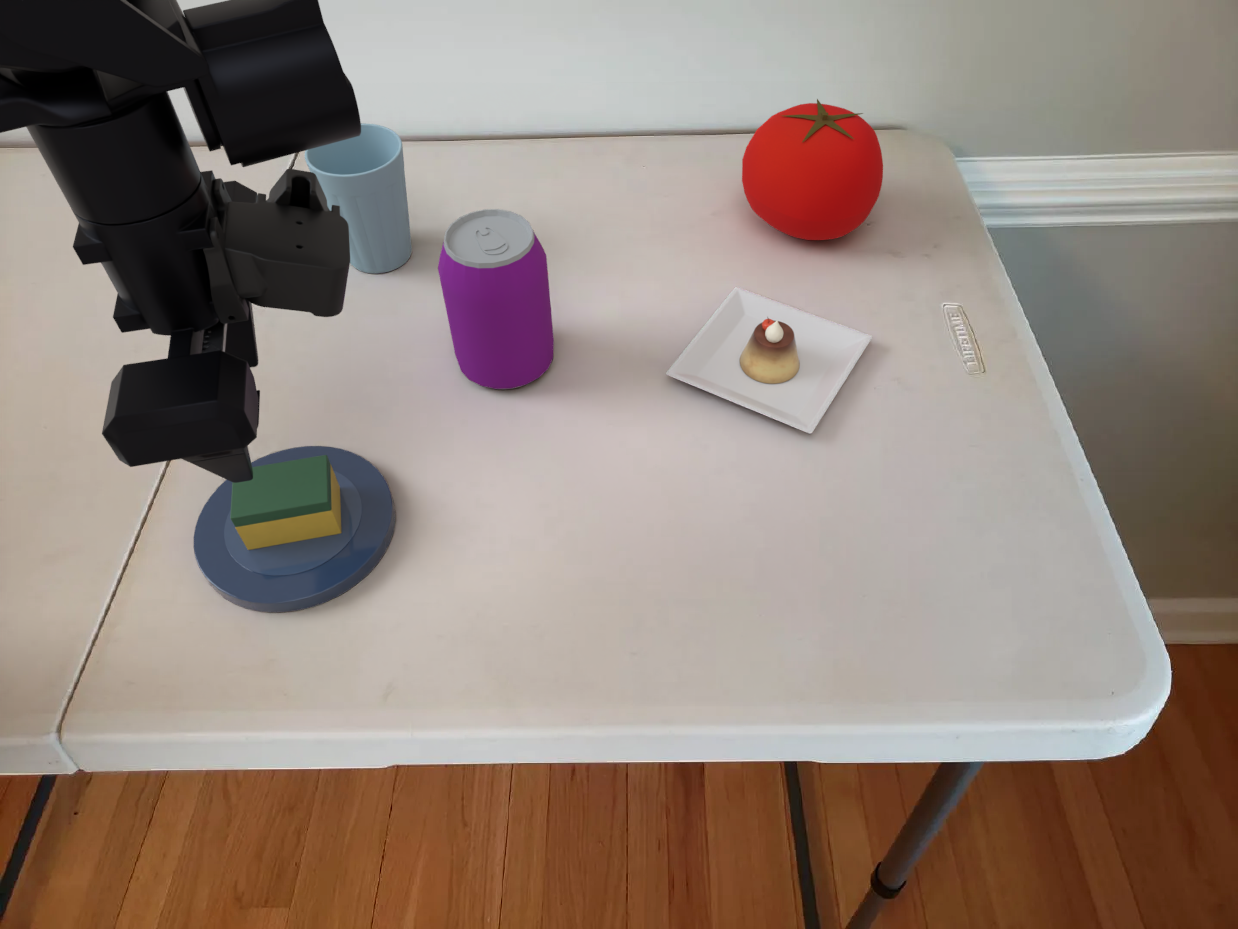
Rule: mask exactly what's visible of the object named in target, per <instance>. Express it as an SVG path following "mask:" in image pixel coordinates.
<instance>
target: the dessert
mask: <svg viewBox="0 0 1238 929" xmlns="http://www.w3.org/2000/svg"><path fill="white" fill-rule="evenodd" d="M872 338H873V335H872V334H868V333H866V332H863V331H861V330H857V329H855V328H852V327H850V326H847V325H844V324H840V323H838V322H836V321H833V320H830V319H827V318H824V317H822V316H819V315H817V314H813V313H811V312H808V311H806V310H803V309H800V308H797V307H795V306H792V305H789V304H786V303H784V302H781V301H779V300H775V299H773V298H770V297H767V296H764V295H762V294H759V293H756V292H753V291H751V290H748V289H745V288H742V287H741V286H735V287H734V288H733V289H732V290H731V291H730V293H729V294H728V295H727V297H726V298H725V299H724V300H723V301H722V303H721V304H720V305H719V306H718V308H717V309H716V310H715V312H713V314H712V315H711V316H710V318H709V319H708V320H707V321H706V323H705V324H704V325H703V326H702V327H701V329H700V330H699V331H698V332H697V333H696V335H695V336H694V337H693V339H692V340H691V341H690V342H689V343H688V345H687V346H686V348H685V349H684V350H683V351H682V352H681V354H679V356H678V357H677V358H676V360H675V361H674V362H673V363H672V365H671V366H670V367H669V368H668V370H667V371H666V372H665V375H667V376H669V377H671V378H674V379H676V380H678V381H681V382H683V383H685V384H688V385H691V386H693V387H695V388H698V389H700V390H702V391H705V392H707V393H710V394H711V395H715V396H717V397H720V398H722V399H724V400H727V401H728V402H731V403H734V404H736V405H738V406H742V407H743V408H745V409H748V410H751V411H753V412H756V413H758V414H760V415H763V416H765V417H768V418H770V419H773V420H776V421H777V422H780V423H783V424H785V425H787V426H789V427H792V428H795V429H797V430H799V431H801V432H804V433H806V434H813V432H814V431H815V429H816V428H817V426H818V424H819V423H820V421H821V420H822V418H823V417H824V415H825V413H826V411H827V410H828V409H829V407H830V405H831V403H832V402H833V400H834V399H835V398H836V396H837V394H838V393H839V391H840V390H841V388H842V386H843V385H844V383H845V382H846V380H847V378H848V377H849V375H850V373H851V372H852V370H853V369H854V367H855V366H856V364H857V362H858V361H859V359H860V358H861V356H862V354H863V353H864V351H865V350H866V348H867V347H868V345H869V343H870V342H871V340H872Z"/></svg>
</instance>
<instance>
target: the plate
mask: <svg viewBox="0 0 1238 929" xmlns="http://www.w3.org/2000/svg"><path fill="white" fill-rule="evenodd" d="M322 455H327V456H328V459H329V461H330V464H331V466H332V469H333V471H334V474H335V476H336V479H337V481H338V484H339V486H340V506H341V534H335V535H330V536H324V537H318V538H313V539H307V540H302V541H296V542H290V543H285V544H279V545H274V546H268V547H262V548H257V549H251V550H248V549H247V548H246V546H245V544H244V542H243V540H242V539H241V537H240V535H239V533H238V532H237V530H236V528H235V526H234V524H233V522H232V520H231V519H230V514H231V498H232V482H231V481H229V480H227V479H224V481H223V482H222V483H221V484H220V485H219V486H218V487H217V488H216V489H215V490H214V492H213V493H212V494H210V496H209V497H208V499H207V501H206V502H205V504H204V505H203V507H202V509H201V511H200V513H199V515H198V518H197V520H196V524H195V527H194V533H193V553H194V558H195V561H196V564H197V566H198V568H199V570H200V571H201V573H202V575H203V576H204V578H205V579H206V581H207V582H208V585H210V586H211V588H212V589H213V590H214V591H215V592H216V593H217V594H218V595H220V596H221V597H222V598H224V599H225V600H226V601H228V602H229V603H232V604H233V605H236V606H239V607H241V608H244V609H247V610H251V611H256V612H261V613H263V612H264V613H290V612H296V611H301V610H307V609H310V608H314V607H316V606H319V605H322V604H325V603H327V602H329V601H331V600H333V599H336V598H338V597H340V596H341V595H343V594H344V593H346V592H348V591H350V590H351V589H353V587H355V586H356V585H357V584H359V583H360V582H362V581H363V580H364V579H365V578H366V577H367V576H368V575H369V574H370V573H371V572H372V571H373V570H374V569H375V567H376V566H377V565H378V564H379V562H381V559H382V558H383V556H384V555H385V554H386V552H387V550H388V547H389V546H390V543H391V541H392V538H393V535H394V532H395V526H396V507H395V501H394V498H393V495H392V492H391V490H390V487H389V484H388V481H387V480H386V478H385V477H384V475H383V474H382V473H381V471H380V470H379V469H378V467H376V466H375V465H374V464H372V462H370V461H369V460H367V459H366V458H364V457H363V456H361V455H359V454H357V453H355V452H352V451H349V450H347V449H343V448H339V447H334V446H325V445H305V446H296V447H290V448H285V449H282V450H278V451H275V452H272V453H269V454H266V455H263V456H261V457H259V458H257V459H255V460H253V461H251V464H252V467H257V466H263V465H268V464H274V463H280V462H286V461H292V460H298V459H304V458H310V457H316V456H322Z"/></svg>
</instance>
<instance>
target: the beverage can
mask: <svg viewBox="0 0 1238 929" xmlns="http://www.w3.org/2000/svg"><path fill="white" fill-rule="evenodd" d="M547 260H548V258H547V254H546V252H545V248H543V246H542V243H541V242H540V240H539V238H538V236H537V235H536V233H535V231H534V228H533V227H532V225H531V223H530V221H529V220H528V219H526V217H524V216H523V215H521V214H518V213H517V212H514V211H512V210H507V209H501V208H484V209H479V210H474V211H471V212H468V213H466V214H464V215H461V216H459V217H458V218H456V219H455V220H454V221H452V222H451V223H450V224H449V225H448V227H447V229H446V230H445V232H444V237H443V242H442V245H441V250H440V254H439V259H438V265H437V272H438V276H439V281H440V286H441V291H442V296H443V299H444V300H443V301H444V306H445V312H446V316H447V321H448V326H449V331H450V336H451V341H452V346H453V352H454V356H455V358H456V361H457V364H458V367H459V369H460V372H461V373H462V374H463V375H464V376H465V377H466V378H467V379H468V380H469V381H471V382H473V383H475V384H476V385H478V386H481V387H484V388H489V389H494V390H512V389H517V388H521V387H524V386H527V385H528V384H530V383H533V381H535V380H537V379H539V378H540V377H542V375H544V373H546V372H547V371H548V370H549V368H550V366H551V364H552V362H553V360H554V348H555V347H554V346H555V338H554V328H553V318H552V306H551V303H552V302H551V295H550V294H551V293H550V282H549V270H548V269H549V268H548V261H547Z"/></svg>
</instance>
